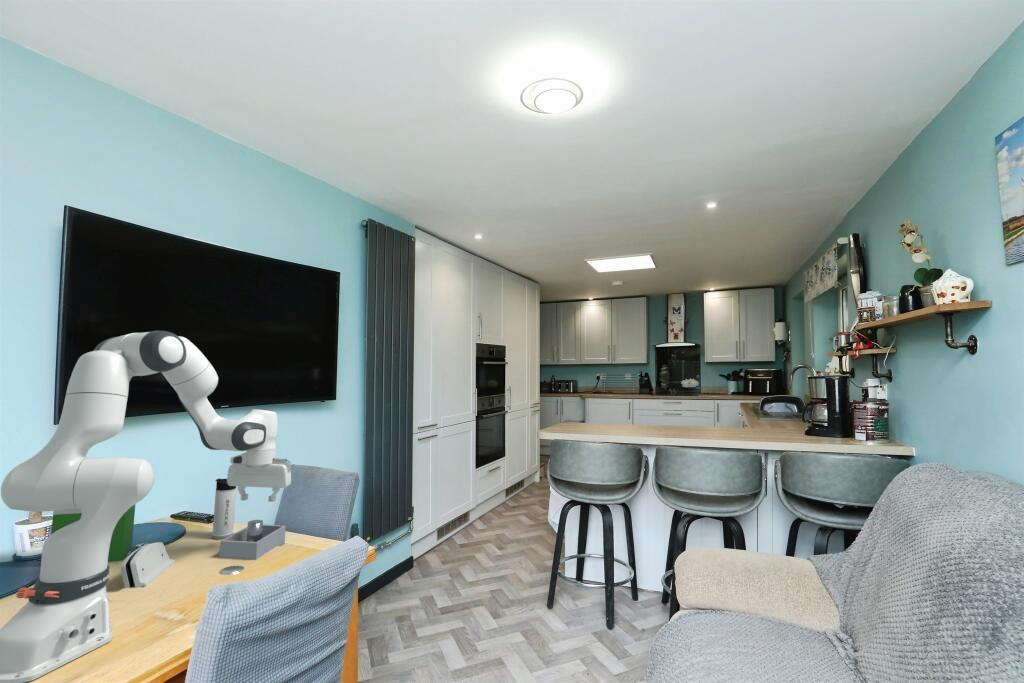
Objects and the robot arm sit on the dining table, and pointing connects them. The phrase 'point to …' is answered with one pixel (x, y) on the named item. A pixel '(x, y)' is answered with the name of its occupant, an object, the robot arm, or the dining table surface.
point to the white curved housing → (145, 565)
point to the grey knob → (254, 530)
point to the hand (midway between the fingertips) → (258, 500)
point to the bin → (252, 543)
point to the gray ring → (231, 570)
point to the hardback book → (120, 535)
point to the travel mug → (224, 510)
